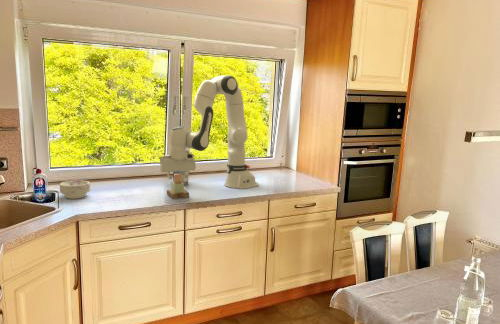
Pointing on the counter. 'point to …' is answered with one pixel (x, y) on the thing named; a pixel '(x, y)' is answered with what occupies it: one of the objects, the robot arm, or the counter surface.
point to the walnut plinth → (177, 194)
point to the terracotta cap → (177, 178)
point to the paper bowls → (75, 188)
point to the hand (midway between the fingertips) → (178, 178)
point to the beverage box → (184, 180)
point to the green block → (177, 187)
